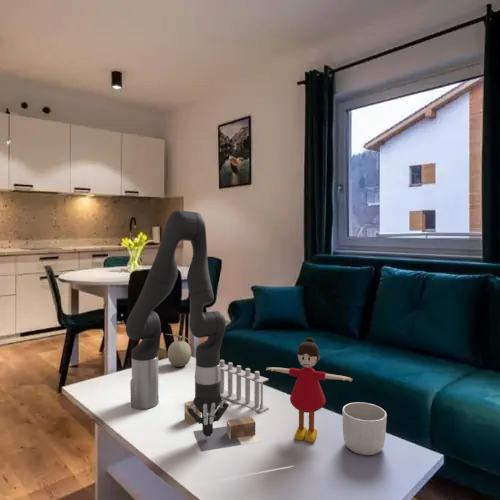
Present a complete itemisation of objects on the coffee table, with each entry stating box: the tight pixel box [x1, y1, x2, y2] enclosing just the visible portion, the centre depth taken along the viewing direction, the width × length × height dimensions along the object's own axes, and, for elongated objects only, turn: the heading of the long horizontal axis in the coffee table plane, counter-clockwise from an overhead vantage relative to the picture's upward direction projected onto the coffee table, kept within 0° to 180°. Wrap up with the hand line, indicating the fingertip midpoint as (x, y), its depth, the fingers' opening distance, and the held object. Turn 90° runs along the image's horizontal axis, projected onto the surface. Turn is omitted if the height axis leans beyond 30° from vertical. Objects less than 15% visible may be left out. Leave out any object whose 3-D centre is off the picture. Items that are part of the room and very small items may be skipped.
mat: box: [193, 425, 261, 452], centre depth 128 cm, size 18×12×1 cm, turn 108°
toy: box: [265, 336, 353, 443], centre depth 129 cm, size 27×11×30 cm, turn 70°
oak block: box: [183, 400, 202, 425], centre depth 138 cm, size 4×4×6 cm
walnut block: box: [226, 416, 256, 439], centre depth 129 cm, size 4×4×8 cm
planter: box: [342, 401, 388, 456], centre depth 122 cm, size 12×12×11 cm
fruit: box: [165, 333, 192, 368], centre depth 191 cm, size 10×12×15 cm
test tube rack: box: [220, 359, 270, 414], centre depth 154 cm, size 25×4×13 cm, turn 48°
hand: (207, 435), depth 126 cm, fingers closed
